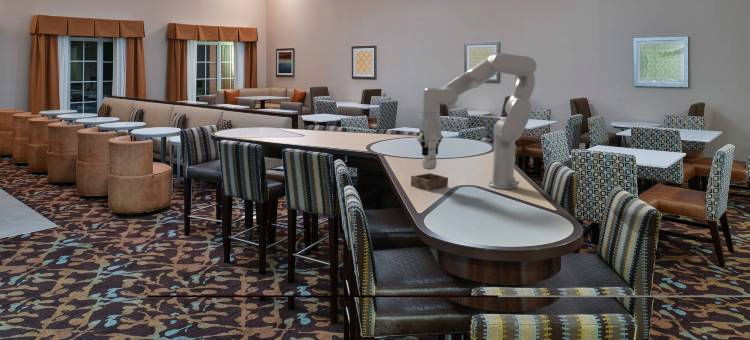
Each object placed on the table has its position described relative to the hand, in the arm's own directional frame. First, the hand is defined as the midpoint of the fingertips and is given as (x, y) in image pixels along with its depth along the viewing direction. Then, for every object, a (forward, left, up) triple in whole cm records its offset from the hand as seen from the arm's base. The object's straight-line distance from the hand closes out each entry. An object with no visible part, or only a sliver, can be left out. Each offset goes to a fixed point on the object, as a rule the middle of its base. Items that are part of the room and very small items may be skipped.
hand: (429, 154), depth 263 cm
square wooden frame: (0, 0, -15) cm, 15 cm away
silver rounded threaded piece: (0, 0, -7) cm, 7 cm away
